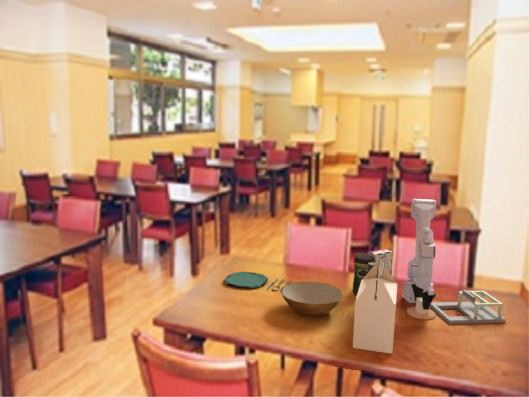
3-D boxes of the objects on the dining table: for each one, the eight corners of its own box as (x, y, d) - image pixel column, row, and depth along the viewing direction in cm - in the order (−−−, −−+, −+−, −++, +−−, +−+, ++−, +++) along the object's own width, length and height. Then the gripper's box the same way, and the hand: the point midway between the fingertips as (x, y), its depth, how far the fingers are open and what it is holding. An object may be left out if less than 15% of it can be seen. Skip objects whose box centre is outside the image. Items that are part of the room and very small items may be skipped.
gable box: (392, 354, 163) (398, 274, 158) (352, 348, 167) (357, 270, 162) (394, 327, 184) (399, 256, 179) (358, 322, 188) (363, 252, 183)
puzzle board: (449, 324, 188) (449, 320, 188) (428, 305, 206) (429, 302, 205) (505, 322, 190) (505, 319, 190) (480, 304, 208) (480, 301, 208)
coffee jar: (375, 292, 219) (377, 252, 216) (372, 298, 212) (375, 257, 209) (353, 289, 223) (356, 250, 220) (350, 295, 216) (352, 254, 212)
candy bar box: (383, 281, 234) (385, 248, 232) (390, 284, 230) (393, 251, 227) (365, 285, 229) (367, 251, 226) (372, 288, 225) (375, 254, 222)
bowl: (349, 305, 204) (350, 287, 203) (331, 329, 181) (332, 308, 180) (293, 295, 214) (294, 277, 213) (270, 316, 192) (270, 296, 190)
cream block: (419, 314, 195) (420, 301, 194) (415, 310, 199) (416, 297, 198) (429, 314, 195) (430, 301, 194) (425, 310, 199) (426, 297, 198)
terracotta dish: (413, 320, 191) (413, 318, 191) (402, 308, 202) (402, 307, 202) (440, 319, 192) (440, 317, 192) (428, 308, 203) (428, 306, 203)
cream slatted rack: (475, 317, 191) (476, 299, 190) (457, 303, 205) (458, 287, 203) (501, 316, 192) (503, 299, 191) (482, 302, 206) (483, 286, 205)
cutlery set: (235, 273, 242) (235, 269, 241) (293, 282, 232) (293, 277, 232) (218, 286, 223) (218, 282, 223) (280, 297, 214) (281, 292, 213)
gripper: (442, 279, 187) (439, 312, 190) (426, 267, 201) (423, 298, 204) (425, 279, 186) (422, 313, 189) (409, 267, 201) (407, 298, 203)
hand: (421, 305), depth 196 cm, fingers open, 7 cm apart
